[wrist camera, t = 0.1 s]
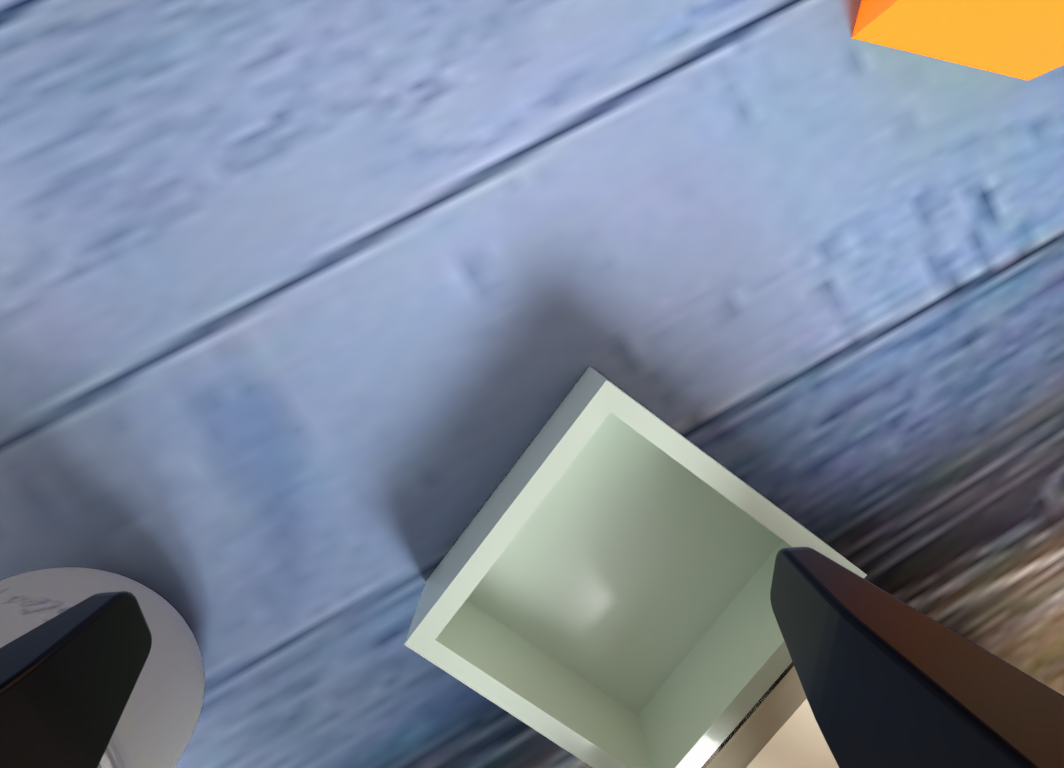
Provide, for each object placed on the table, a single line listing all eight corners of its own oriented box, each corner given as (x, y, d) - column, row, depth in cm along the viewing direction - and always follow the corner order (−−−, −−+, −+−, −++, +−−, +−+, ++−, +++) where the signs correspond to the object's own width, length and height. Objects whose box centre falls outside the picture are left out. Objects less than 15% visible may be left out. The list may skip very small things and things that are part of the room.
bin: (636, 723, 25) (661, 812, 21) (425, 581, 24) (404, 644, 19) (802, 525, 24) (867, 575, 20) (589, 366, 23) (606, 380, 18)
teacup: (190, 507, 23) (20, 611, 15) (277, 724, 25) (163, 920, 17) (-114, 596, 23) (-436, 743, 16) (-9, 805, 25) (-253, 1035, 17)
